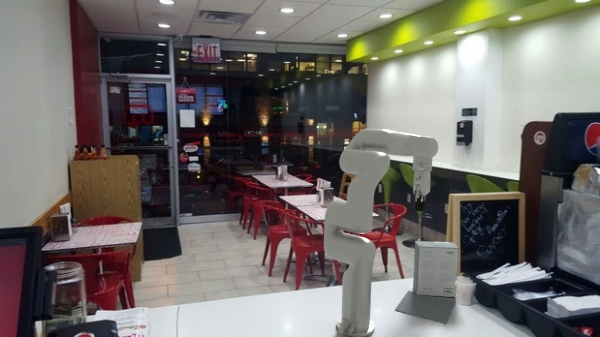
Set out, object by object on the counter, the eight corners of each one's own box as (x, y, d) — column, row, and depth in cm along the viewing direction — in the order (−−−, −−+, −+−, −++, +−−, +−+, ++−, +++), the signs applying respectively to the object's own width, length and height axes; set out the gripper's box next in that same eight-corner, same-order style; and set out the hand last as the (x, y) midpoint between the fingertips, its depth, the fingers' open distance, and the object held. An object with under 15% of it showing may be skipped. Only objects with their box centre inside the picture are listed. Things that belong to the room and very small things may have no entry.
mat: (446, 324, 138) (446, 323, 138) (394, 310, 147) (394, 309, 147) (455, 302, 154) (455, 301, 154) (408, 291, 162) (408, 290, 162)
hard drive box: (450, 289, 164) (454, 242, 162) (456, 297, 157) (459, 248, 154) (412, 287, 166) (414, 240, 163) (415, 295, 158) (418, 246, 156)
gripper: (427, 170, 156) (424, 215, 159) (435, 165, 170) (433, 207, 173) (407, 168, 160) (405, 213, 163) (418, 163, 174) (415, 205, 177)
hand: (419, 209), depth 168 cm, fingers closed
